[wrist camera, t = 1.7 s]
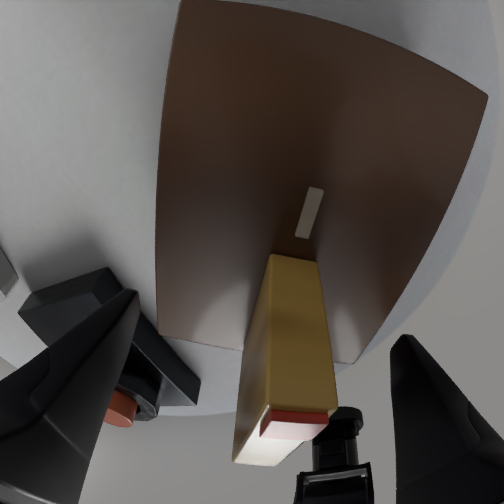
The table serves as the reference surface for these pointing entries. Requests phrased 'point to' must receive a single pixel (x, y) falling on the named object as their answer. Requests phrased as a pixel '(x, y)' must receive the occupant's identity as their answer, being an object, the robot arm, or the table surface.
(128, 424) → the arm button
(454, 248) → the table surface
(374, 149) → the brown box with slot
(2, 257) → the intercom
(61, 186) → the table surface
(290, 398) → the block
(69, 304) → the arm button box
